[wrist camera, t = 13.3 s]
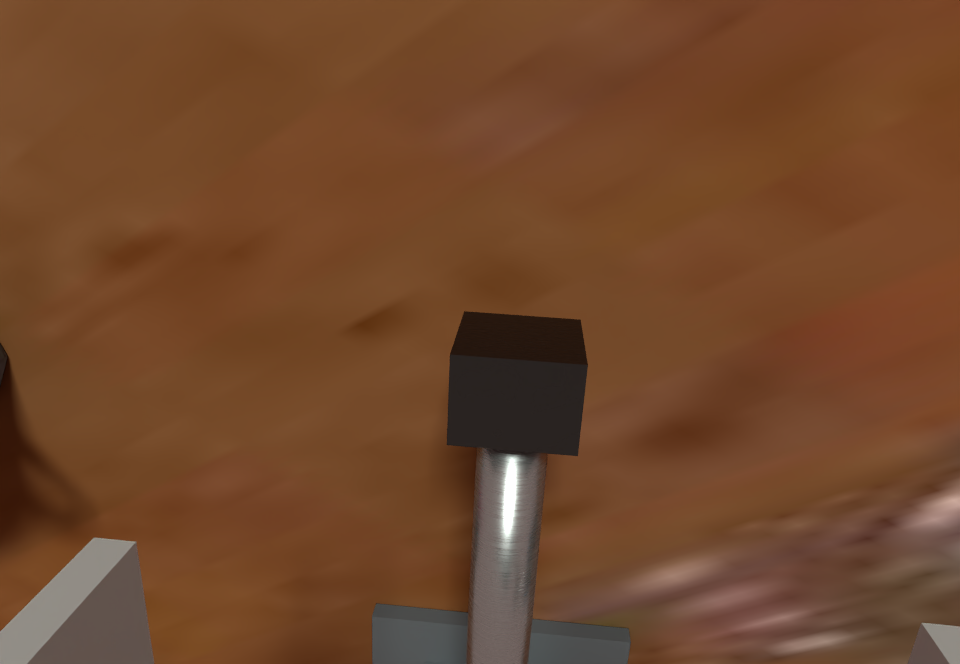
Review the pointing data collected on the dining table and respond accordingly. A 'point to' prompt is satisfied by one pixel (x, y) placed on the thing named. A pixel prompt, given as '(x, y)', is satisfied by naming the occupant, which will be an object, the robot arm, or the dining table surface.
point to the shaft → (511, 459)
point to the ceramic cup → (2, 362)
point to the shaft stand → (443, 639)
